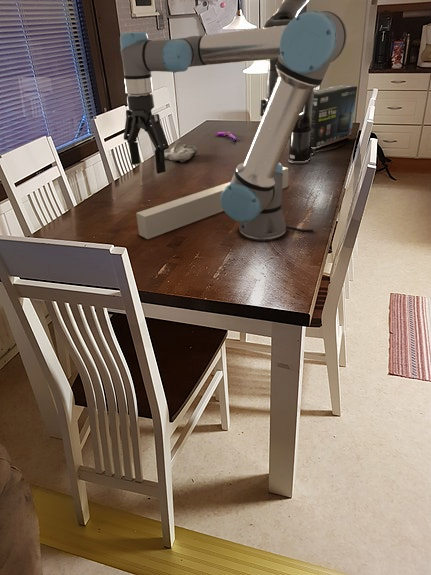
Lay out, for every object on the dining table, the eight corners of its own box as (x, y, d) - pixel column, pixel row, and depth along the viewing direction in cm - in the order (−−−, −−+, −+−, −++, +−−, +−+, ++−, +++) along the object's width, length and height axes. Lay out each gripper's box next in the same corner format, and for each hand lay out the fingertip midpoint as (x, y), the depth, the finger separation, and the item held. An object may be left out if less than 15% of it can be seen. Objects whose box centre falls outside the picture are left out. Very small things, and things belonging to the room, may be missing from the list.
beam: (147, 239, 148) (145, 216, 144) (139, 234, 151) (136, 212, 147) (287, 186, 187) (288, 168, 183) (278, 184, 190) (279, 165, 186)
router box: (314, 151, 231) (318, 94, 217) (296, 148, 237) (299, 92, 224) (352, 138, 251) (358, 85, 238) (335, 135, 258) (340, 83, 245)
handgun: (216, 135, 269) (216, 131, 268) (229, 133, 270) (229, 130, 269) (224, 143, 252) (224, 139, 251) (237, 141, 253) (237, 138, 252)
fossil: (184, 156, 217) (163, 136, 220) (174, 174, 223) (154, 154, 227) (205, 153, 231) (186, 134, 234) (195, 171, 237) (176, 152, 240)
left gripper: (177, 96, 124) (182, 173, 135) (127, 88, 140) (136, 158, 151) (154, 100, 120) (162, 179, 131) (105, 92, 136) (116, 163, 147)
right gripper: (299, 83, 162) (296, 131, 171) (269, 81, 172) (268, 125, 180) (285, 86, 158) (283, 134, 167) (255, 83, 168) (255, 129, 176)
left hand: (148, 168), depth 141 cm, fingers open, 13 cm apart
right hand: (275, 130), depth 173 cm, fingers open, 8 cm apart
